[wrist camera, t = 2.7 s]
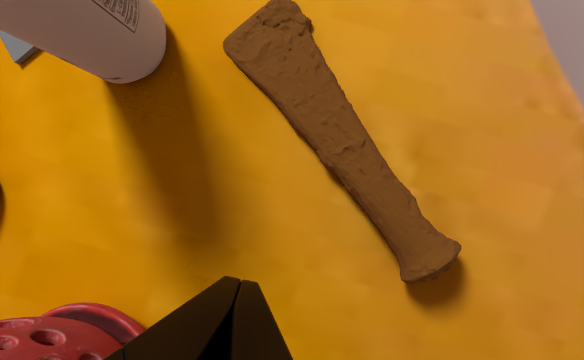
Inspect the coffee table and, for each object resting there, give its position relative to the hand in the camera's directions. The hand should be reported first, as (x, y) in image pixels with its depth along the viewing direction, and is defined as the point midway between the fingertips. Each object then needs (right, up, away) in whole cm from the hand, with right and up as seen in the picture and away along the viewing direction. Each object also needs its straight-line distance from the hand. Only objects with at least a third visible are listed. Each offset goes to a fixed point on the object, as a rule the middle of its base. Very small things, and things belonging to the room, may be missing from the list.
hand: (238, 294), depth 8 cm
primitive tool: (+4, +6, +12) cm, 14 cm away
